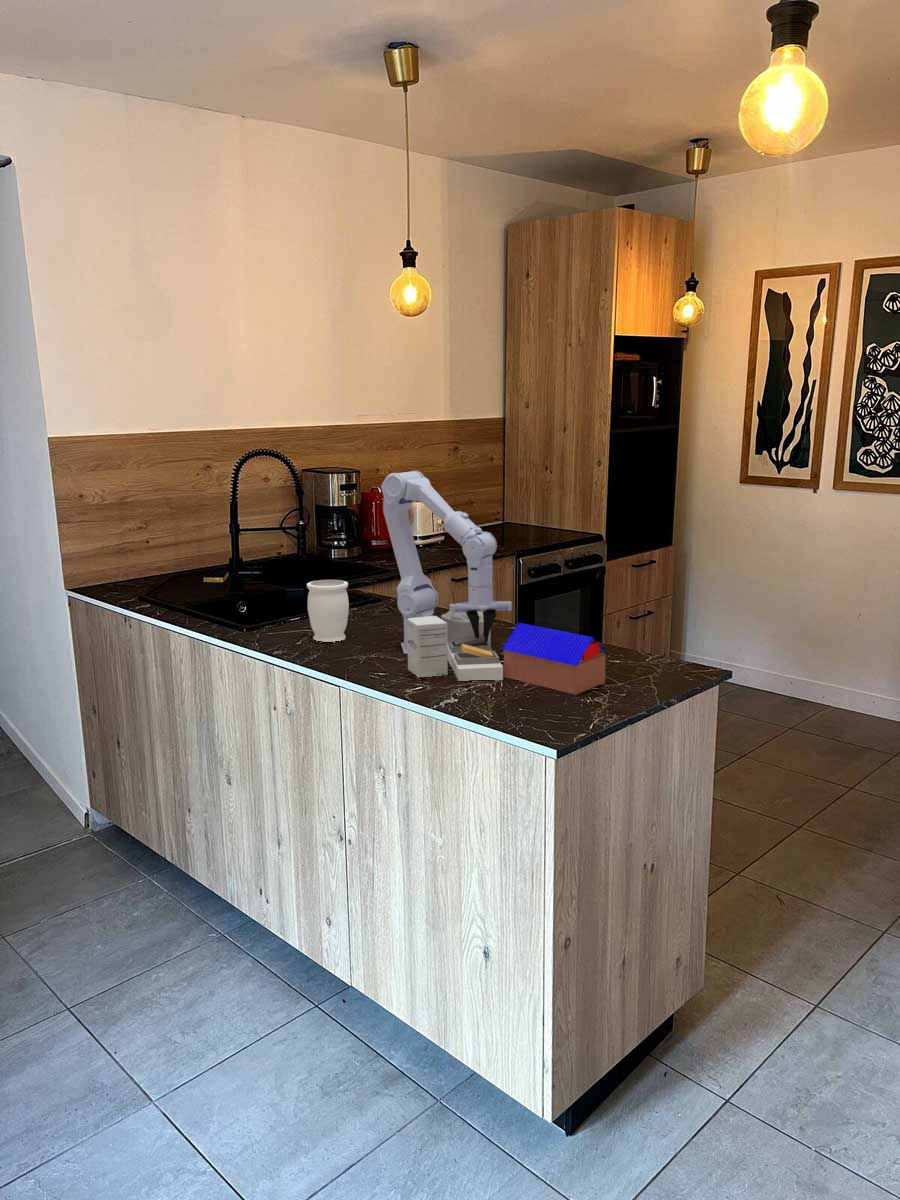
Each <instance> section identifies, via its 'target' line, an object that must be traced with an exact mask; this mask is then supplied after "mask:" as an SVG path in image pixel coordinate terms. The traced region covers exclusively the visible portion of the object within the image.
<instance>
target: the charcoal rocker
mask: <svg viewBox="0 0 900 1200" xmlns="http://www.w3.org/2000/svg"><path fill="white" fill-rule="evenodd" d="M483 641H485V638H484V636H483V634H482V633H480V634H479V638H476V637H475V636H474V635H472V636H468V637H464V638H461V639H457V640H454V644H455V646H456V647H461V645H462V644H465V645H471V644H475V643H479V642H483Z"/></svg>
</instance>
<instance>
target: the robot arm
mask: <svg viewBox="0 0 900 1200" xmlns="http://www.w3.org/2000/svg"><path fill="white" fill-rule="evenodd" d="M380 488H381V492H382V496H383V501H382V503H383V504H382V511H383V516H384V519H385V522H386V526H387V530H388V533H389V535H388V536H389V538H390V542H391V545H392V549H393V553H394V558H395V560H396V563H397V567H398V571H399V575H400V581H399V583H398V585H397V587H396V592H397V599H396V600H397V601H396V602H397V608H398V611H399V612H400V613H401V614H402V618H403V642H400V645H401V648H402V651H403V654H405V655H408V632H407V619H408V618H416V617H426V616H434V613H435V609H436V607H437V606H438V605H439V593H438V591H437V590H436V589H435V587H434V586H433V583H432V580H431V579H430V578H429V577H428V576H427V575H425V574H424V572H423V569H422V565H421V561H420V557H419V554H418V549H417V546H416V543H415V539H414V535H413V532H412V527H411V524H410V520H409V516H408V511H409V510H410V508H411V506H412V504H413V503H414V502H419V503H420V502H421V503H422V504H423V505H424V507H426V508H428V509H429V511H431V512H432V513H433V514H434V515H436V516H437V517H438V518H440V520H442V522H443V528H444V530H445V531H446V532H447V533H448V534H449V535H450V536H451V537H452V538H453V539H454V540H455V541H456V542H457V543H458V544H459V545H460V546H461V547H462V553H463V556H465V558H466V565H467V587H468V590H467V591H468V592H467V594H468V601H465V602H458V603H457V602H456V603H449V611H450V613H451V614H454V613H461V612H466V614H467V616H468V618H469V620H470V623H471V625H472V628H473V631H474V636H475V637H476V638H479V616H478V613H477V612H481V611H483V623H484V629H483V636H484V638H485V641H484V642H488V636H489V632H490V629H491V628H492V626H493V624H494V621H495V620H496V618H497V613H496V612H497V611H499V612H500V611H508V612H509V611H511V612H512V610H513V608H512V607H513V606H512V605H513V603H512V601H510V600H508V601H507V600H504V601H503V600H494V597H493V596H494V595H493V594H494V593H493V587H494V586H493V581H494V579H493V555H494V554H495V553H496V551H497V548H498V545H497V543H498V542H497V540H496V538H495V537H494V535H493V534H492V533H491V532H489V531H483V530H482V528H481V527H480V526H477V525H476V523H474V522H473V521H472V520H471V519H470V518H469V514H467V512H463V511H462V510H461V511H460V510H457V511H455V510H453V508H452V507H451V506H450V505H449V503H448V502H446V501H445V500H444V498H443V496H441V495H440V494H439V493H438V492H437V490H435V489H434V487H433V485H431V482H430V479H428V478H427V477H425V476H424V474H423V473H422V472H420V471H419V470H411V471H405V472H403V471H402V472H391V473H389V474H388V475H386V477H385V478H384V480H383V482H382V484H381V486H380Z"/></svg>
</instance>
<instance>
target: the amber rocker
mask: <svg viewBox="0 0 900 1200" xmlns="http://www.w3.org/2000/svg"><path fill="white" fill-rule="evenodd" d="M461 649H462V651H463V652H465V653H469V654H472V655H476V656H480V657H483V658H486V657H493V654H492V652H491V651H487V650H483V649H480V648H476V647H472V646H469V645H465V644H462V645H461Z"/></svg>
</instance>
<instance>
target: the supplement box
mask: <svg viewBox="0 0 900 1200" xmlns="http://www.w3.org/2000/svg"><path fill="white" fill-rule="evenodd" d="M407 632H408V654H407V671H408V670H409V671H408V672H410V671H411V672H412V673H413V674H415V675H416V676H417V677H418V678H419V677H432V676H442V675H449V674H448V670H449V669H448V668H449V667H448V664H449V663H448V662H449V661H448V657H447V622H445V621H443V620H442V619H441V617H438V616H437V615H433V616H426V617H416V618H408V619H407ZM411 672H410V673H411ZM412 673H411V674H412ZM413 674H412V675H413ZM416 676H415V677H416ZM417 677H416V678H417ZM418 678H417V679H418Z"/></svg>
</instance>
